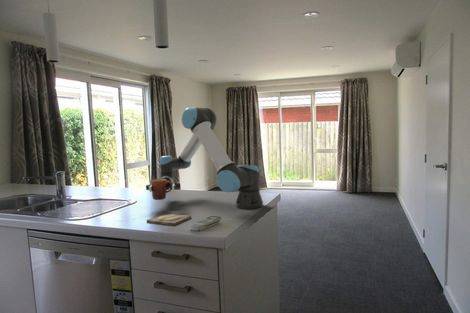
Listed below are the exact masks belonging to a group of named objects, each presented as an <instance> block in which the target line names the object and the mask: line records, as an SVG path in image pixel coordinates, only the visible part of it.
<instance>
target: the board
mask: <svg viewBox="0 0 470 313" xmlns="http://www.w3.org/2000/svg"><path fill="white" fill-rule="evenodd" d="M190 219H192V215H188V214H187V215H186V214H177V213H165V212H164V213H161V214H159V215H157V216H155V217H151V218H148V219H147V220H146V223H147V222H148V223H147V224H154V223H157V224H156V225H163V224H165V225H164V226H173V227H174V226H177V225H179V224H181V223H184V222H186V221H188V220H190Z"/></svg>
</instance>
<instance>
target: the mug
mask: <svg viewBox="0 0 470 313" xmlns="http://www.w3.org/2000/svg"><path fill="white" fill-rule="evenodd" d="M149 182H150V183H149V184H151V186H152V192H151V196H152V199H153V200H154V201H161V200H165V199H166V197H167V193H169V192H171V191H172V185H173V183H174V182H173V183H172V182H171V181H167V180H166V179H161V178H157V179H156V178H155V179H151V180H150V181H149ZM168 182H170V183H171V188H170V189H168V190H166V183H168Z"/></svg>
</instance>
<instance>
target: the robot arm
mask: <svg viewBox="0 0 470 313" xmlns="http://www.w3.org/2000/svg"><path fill="white" fill-rule="evenodd" d="M216 124H217V115H216V113H215V111H214V110H213V109H211V108H208V107H193V106H192V107H187V108H185V110H183V112H182V115H181V125H182V126H183V127H184V128H186V130H187V129H188V130H190V131H191V133H192V136H191V137H190V138H189V140H188V141H187V143H186V145H185V147H183V149H182V151H181V153H180V154H179V156H178V157H173V156H172V155H162V156H160V158H159V166H160V179H166V180H167V181H171V182H172V183H173V185H172V190H171V191H173V192H174V191H175V189H181V183H180V182H178V181H175V179H174V171H175V170H177V171H178V170H184V169H187V168H190V167H191V165H192V159H193V158H194V156H195V154H196V152H197V151H198V150H199V148H200V147H201V145H202V147H204V150H205V151H206V153H207V155H208V157H209V158H210V159H211V161H212V163H213V164H214V167H215V168H216V183H217V186H218V187H219V189H220V190H221V191H222V192H225V193H235V192H237V191H238V194H237V196H236V201H235V207H236V208H238V209H243V210H251V209H259V208H260V209H261V208H262V207H263V206H264V201H263V198H262V195H261V192H260V169H259V166H258V165H253V164H251V165H250V164H249V165H247V164H238V165H237V163H236V162H235V161H232V160H231V159H230V157H229V155H228V154H227V152H226V151H225V149H224V147H223V146H222V144H221V143H220V141H219V139H218V138H217V136H216V134H215V133H214V130H215V127H216ZM170 188H171V183H170V182H168V183H166V190H170ZM145 189H146V191H149V193H152V186H151V183H148V184H146V185H145Z"/></svg>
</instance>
